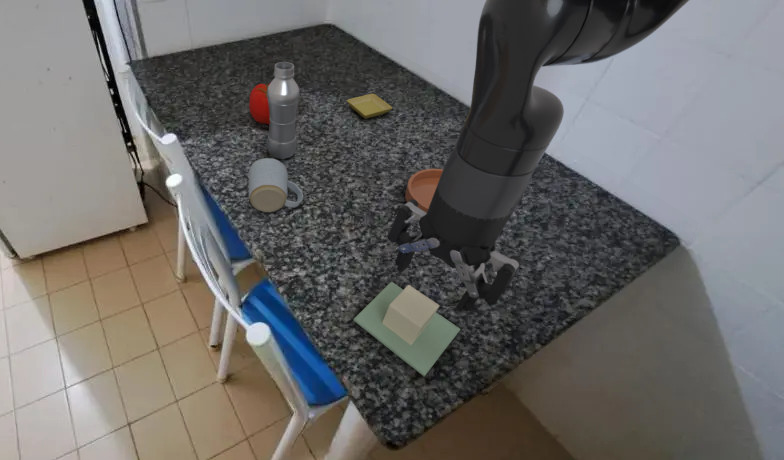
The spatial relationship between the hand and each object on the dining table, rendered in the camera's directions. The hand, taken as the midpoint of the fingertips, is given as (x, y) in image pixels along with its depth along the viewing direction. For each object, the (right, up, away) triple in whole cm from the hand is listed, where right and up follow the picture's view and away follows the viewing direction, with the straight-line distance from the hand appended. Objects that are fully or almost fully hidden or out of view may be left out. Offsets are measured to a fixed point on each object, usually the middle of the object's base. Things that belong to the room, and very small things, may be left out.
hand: (430, 286), depth 51 cm
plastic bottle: (-19, +25, +37) cm, 48 cm away
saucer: (+4, +38, +51) cm, 64 cm away
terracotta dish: (+13, +13, +27) cm, 33 cm away
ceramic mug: (-20, +13, +26) cm, 36 cm away
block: (-1, -6, +7) cm, 9 cm away
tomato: (-21, +35, +47) cm, 62 cm away
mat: (-1, -7, +7) cm, 10 cm away
